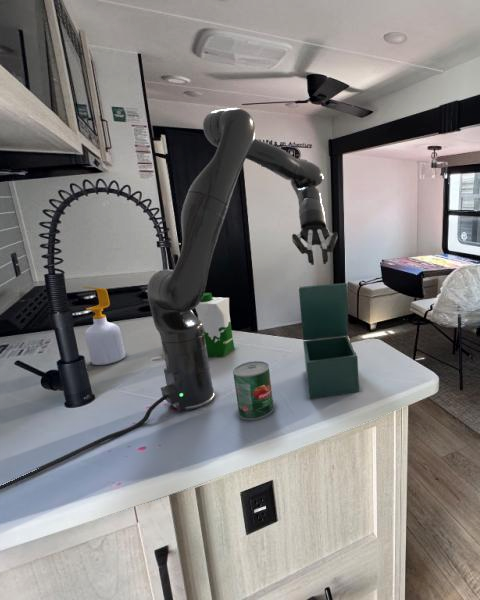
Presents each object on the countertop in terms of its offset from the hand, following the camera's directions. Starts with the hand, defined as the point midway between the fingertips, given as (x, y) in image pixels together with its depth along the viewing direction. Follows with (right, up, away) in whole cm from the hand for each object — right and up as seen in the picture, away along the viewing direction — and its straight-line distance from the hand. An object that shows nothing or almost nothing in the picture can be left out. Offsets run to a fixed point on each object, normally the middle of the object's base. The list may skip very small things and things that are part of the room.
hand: (318, 262), depth 108 cm
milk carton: (-36, -28, +20) cm, 50 cm away
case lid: (+2, -14, -3) cm, 14 cm away
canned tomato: (-12, -37, -17) cm, 42 cm away
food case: (+4, -33, -3) cm, 33 cm away
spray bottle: (-71, -30, +16) cm, 79 cm away
